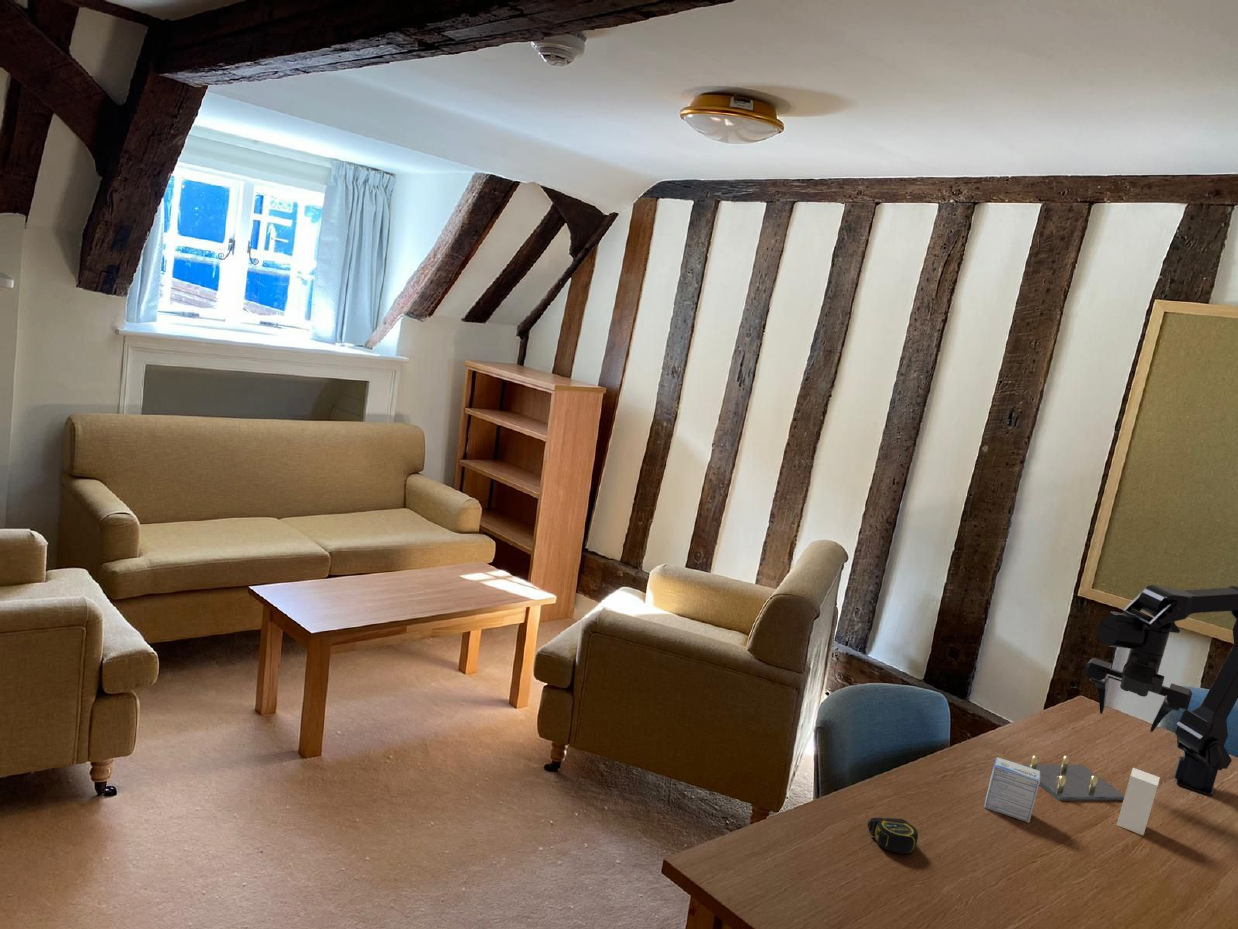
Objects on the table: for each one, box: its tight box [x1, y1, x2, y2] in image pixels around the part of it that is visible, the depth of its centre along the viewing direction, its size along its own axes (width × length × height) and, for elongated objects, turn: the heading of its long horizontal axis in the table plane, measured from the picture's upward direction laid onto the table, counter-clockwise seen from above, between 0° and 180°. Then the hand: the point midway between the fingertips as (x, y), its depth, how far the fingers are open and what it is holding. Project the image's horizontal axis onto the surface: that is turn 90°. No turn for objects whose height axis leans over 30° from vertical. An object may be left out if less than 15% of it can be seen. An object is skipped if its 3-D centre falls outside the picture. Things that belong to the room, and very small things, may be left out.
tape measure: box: [867, 817, 919, 854], centre depth 158 cm, size 7×7×4 cm
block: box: [1116, 767, 1161, 836], centre depth 177 cm, size 4×4×10 cm
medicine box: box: [983, 756, 1040, 823], centre depth 175 cm, size 8×4×9 cm, turn 65°
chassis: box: [1022, 754, 1125, 802], centre depth 191 cm, size 16×12×4 cm
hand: (1126, 722), depth 193 cm, fingers open, 9 cm apart
